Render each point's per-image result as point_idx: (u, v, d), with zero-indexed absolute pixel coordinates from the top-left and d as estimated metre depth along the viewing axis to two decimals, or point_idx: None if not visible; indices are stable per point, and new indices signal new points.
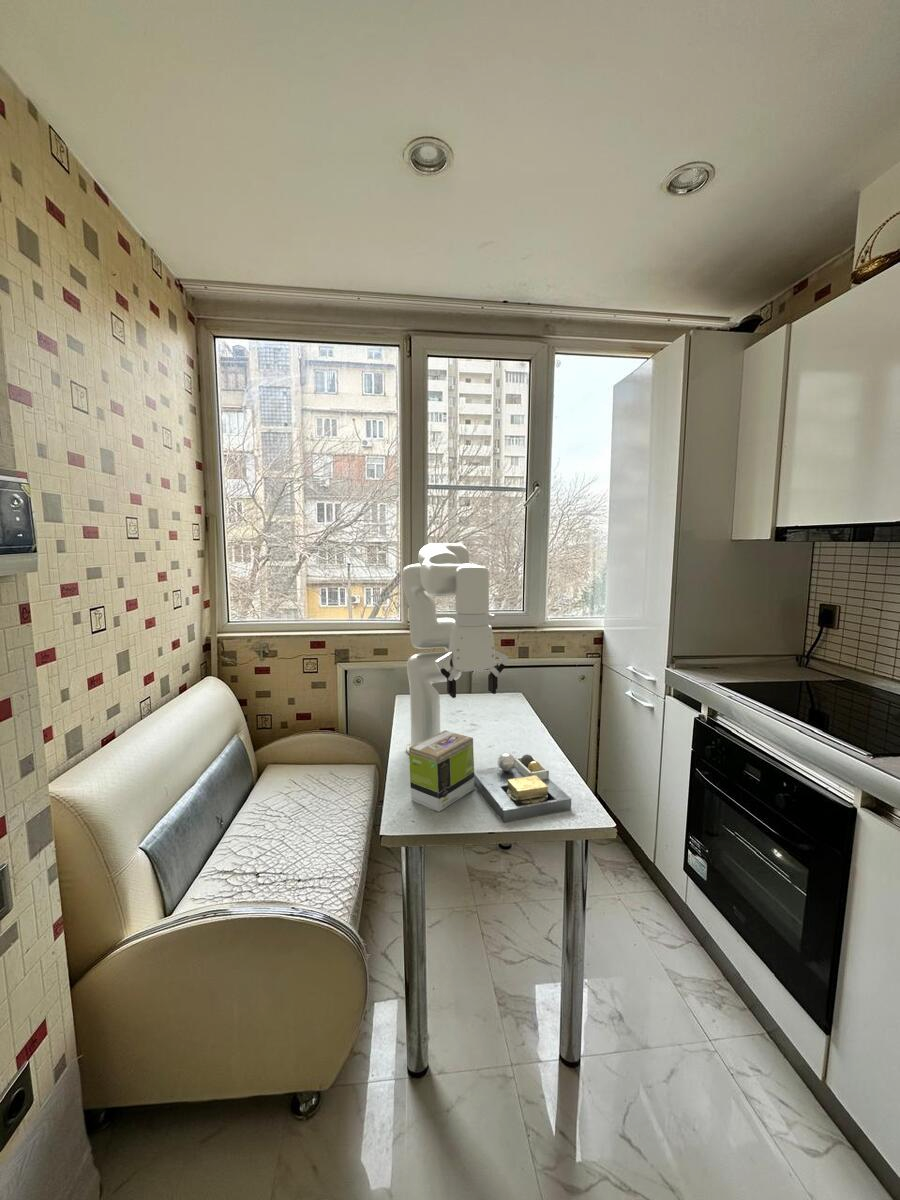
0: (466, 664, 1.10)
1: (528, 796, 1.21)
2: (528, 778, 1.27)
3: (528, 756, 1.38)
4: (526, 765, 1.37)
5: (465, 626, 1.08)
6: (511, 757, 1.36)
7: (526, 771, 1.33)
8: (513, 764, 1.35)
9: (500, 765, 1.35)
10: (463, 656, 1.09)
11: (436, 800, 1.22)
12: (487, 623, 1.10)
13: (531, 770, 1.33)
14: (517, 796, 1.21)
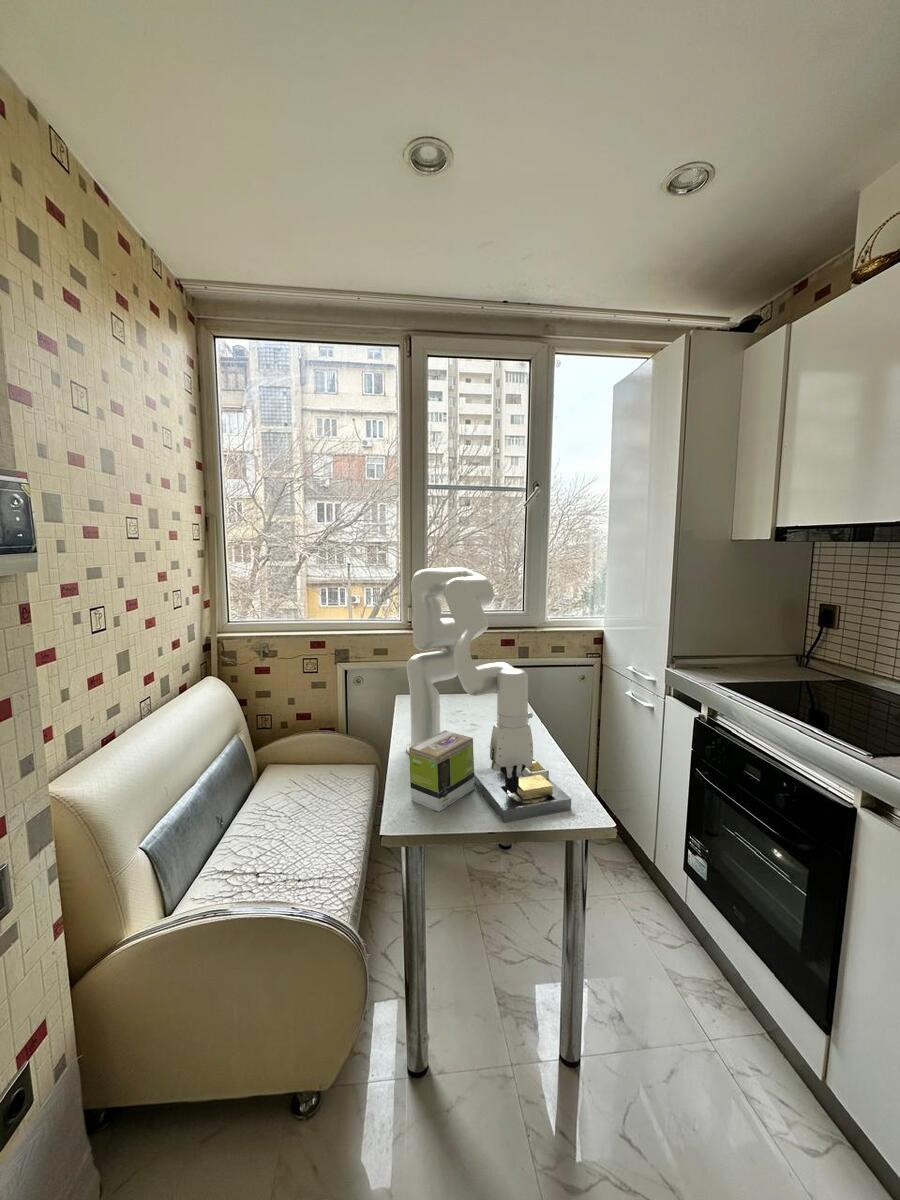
0: (507, 761, 1.20)
1: (534, 795, 1.22)
2: (533, 777, 1.27)
3: None
4: None
5: (507, 727, 1.18)
6: None
7: (526, 771, 1.33)
8: None
9: None
10: (504, 754, 1.19)
11: (436, 800, 1.22)
12: (526, 723, 1.20)
13: (531, 770, 1.33)
14: (522, 795, 1.21)
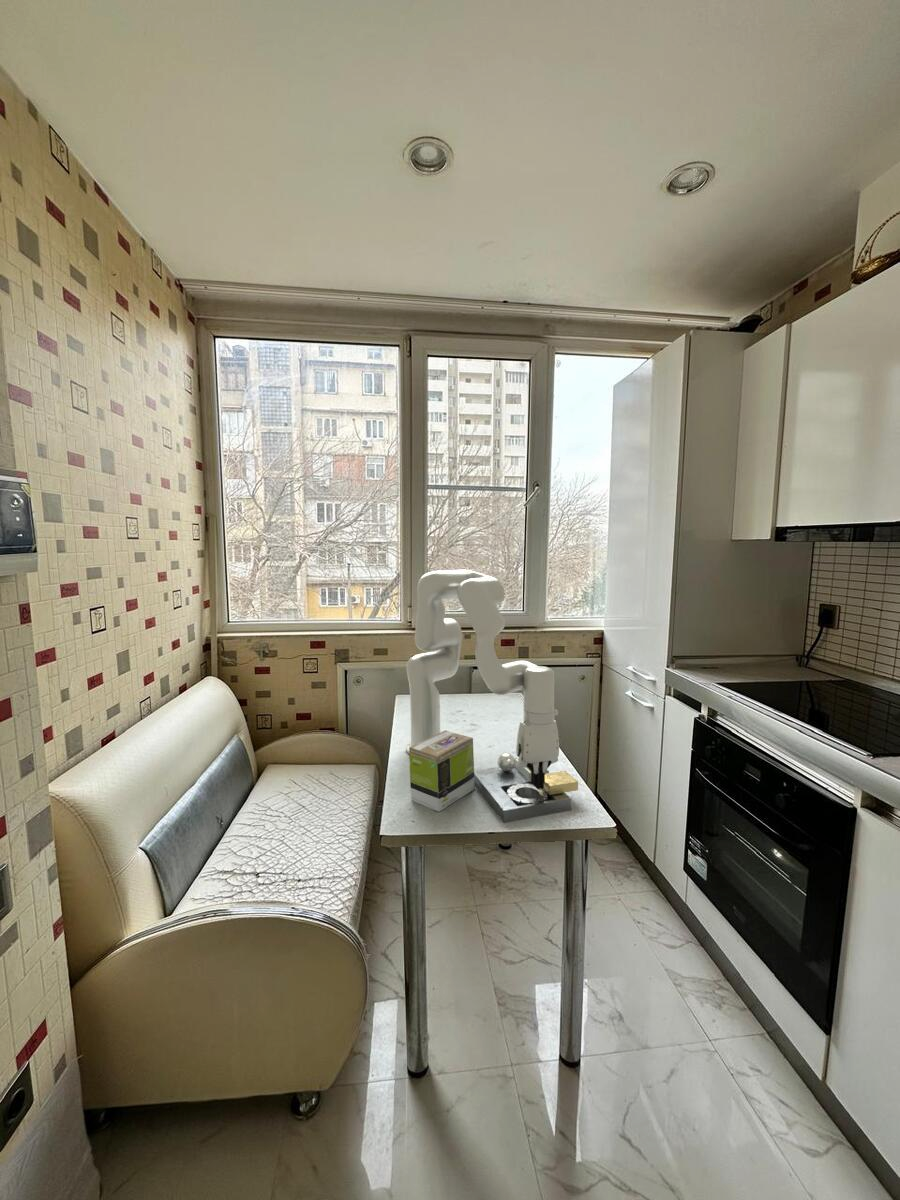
0: (534, 757, 1.22)
1: (560, 790, 1.24)
2: (558, 773, 1.29)
3: None
4: None
5: (534, 724, 1.20)
6: (511, 757, 1.36)
7: (526, 771, 1.33)
8: (513, 764, 1.35)
9: (500, 765, 1.35)
10: (531, 750, 1.21)
11: (436, 800, 1.22)
12: (553, 720, 1.22)
13: None
14: (549, 791, 1.23)
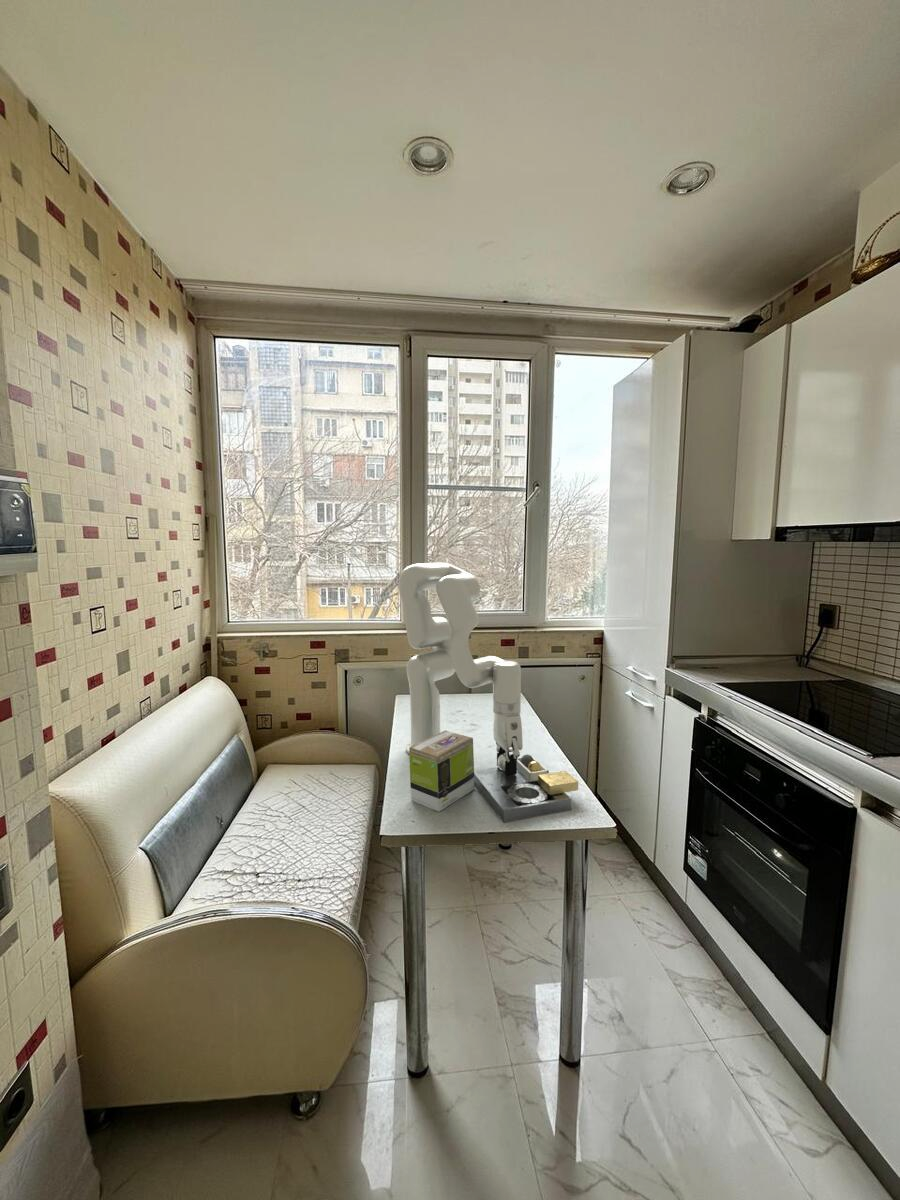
0: (496, 738, 1.38)
1: (560, 790, 1.24)
2: (558, 773, 1.29)
3: (528, 756, 1.38)
4: (526, 765, 1.37)
5: None
6: None
7: (526, 771, 1.33)
8: None
9: (500, 765, 1.35)
10: (494, 730, 1.38)
11: (436, 800, 1.22)
12: (502, 712, 1.32)
13: (531, 770, 1.33)
14: (549, 791, 1.23)
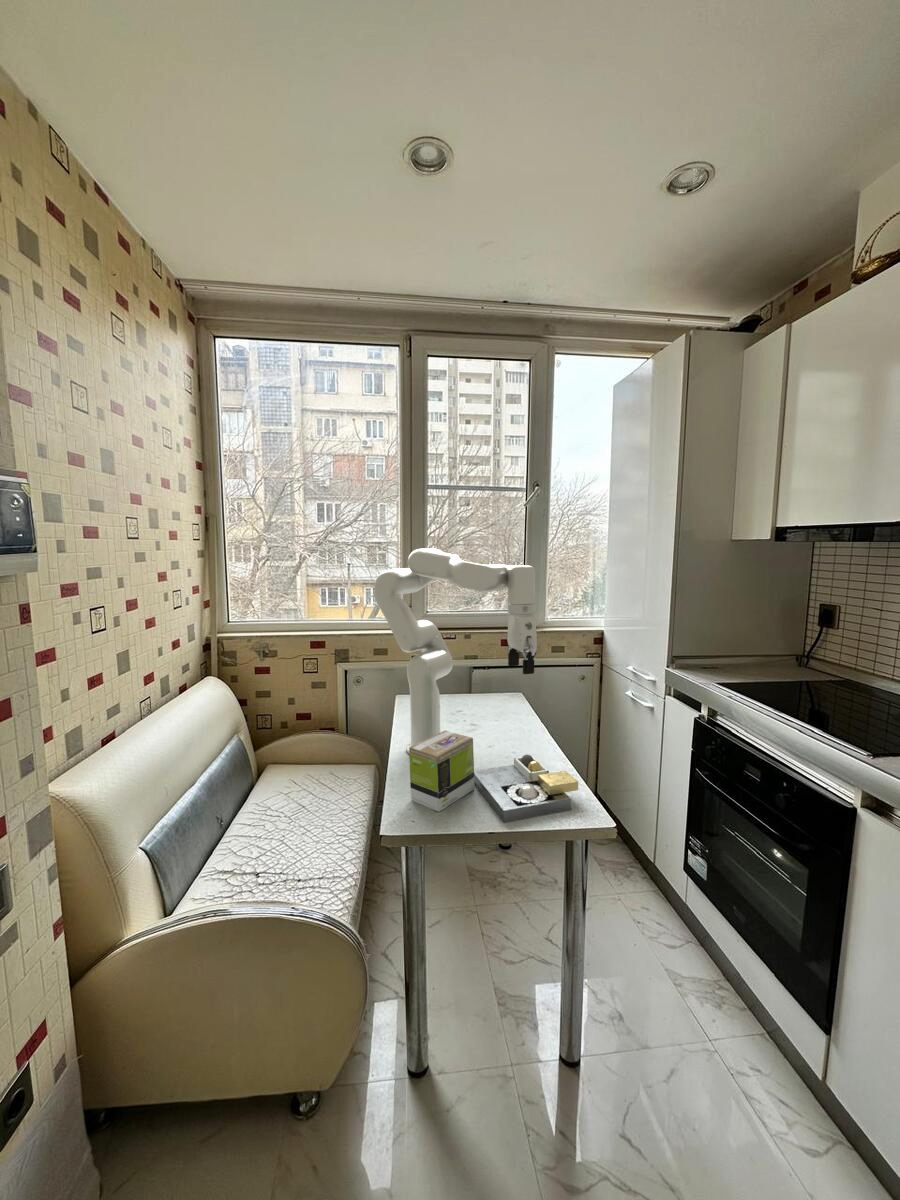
0: (510, 642, 1.41)
1: (560, 790, 1.24)
2: (558, 773, 1.29)
3: (528, 756, 1.38)
4: (526, 765, 1.37)
5: None
6: (534, 792, 1.23)
7: (526, 771, 1.33)
8: None
9: None
10: (509, 635, 1.41)
11: (436, 800, 1.22)
12: (516, 612, 1.35)
13: (531, 770, 1.33)
14: (549, 791, 1.23)
